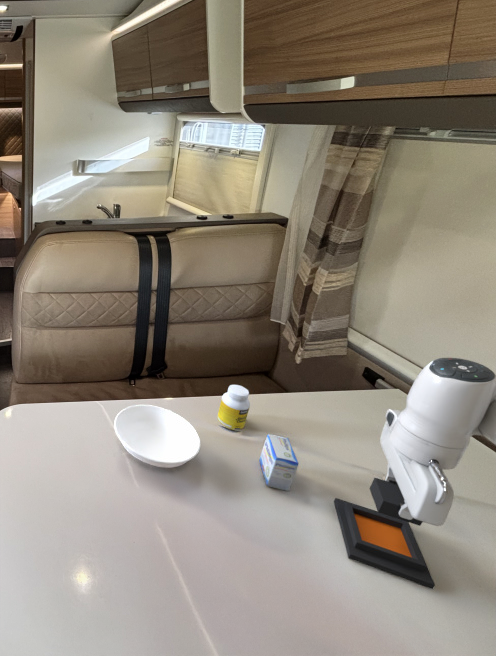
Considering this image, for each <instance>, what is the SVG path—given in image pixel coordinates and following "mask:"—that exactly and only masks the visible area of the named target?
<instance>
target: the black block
mask: <svg viewBox="0 0 496 656" xmlns="http://www.w3.org/2000/svg"><path fill="white" fill-rule="evenodd" d="M369 491H370V494H371V497H372V500H373V502H374V505H375V508H376V511H378V512H379V513H382V514H385V515H388V516H391V517H394V518H397V519H400V520H403V521H406V522H409V524H413V525H415V526H419V527H420V526H422V524H423V522H422V521H419V520H416V519H414V518H413V519H412V520H408V519H405V518H402V517H400V516H399V513H398V510H397V508H398V506H399V503H400V504H405V502H404V497H403V495H402V493H401V491H400V488H399V486H398V484H395V483H391V482H388V481H385V479H381V478H377V477H373V480H372V482H371V484H370V486H369Z"/></svg>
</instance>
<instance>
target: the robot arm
mask: <svg viewBox="0 0 496 656" xmlns="http://www.w3.org/2000/svg"><path fill="white" fill-rule="evenodd" d="M385 419H386V420H385V422H384V425H383V427H382V430H381V433H380V439H379V441H380V442H379V443H380V447H381V449H382V452H383V454H384V456H385V458H386V460H387V468H386V469H387V470H386V471H387V472H386V476H385V478H384V480H385V481H388V482H391V483H395V484H398V486H399V488H400V491H401V493H402V495H403V497H404V502H405V504H400V503H399V506H398V508H397V510H398V513H399V516H400V517H402V518H405V519H408V520H412V519H413V518H414V519H416V520H419V521H422V523H425V524H429V525H432V526H436V527H440V526H443V525H444V524H445V522H446V520H447V518H448V516H449V513H450V511H451V508H452V506H453V502H454V498H455V491H454V489H453V486H452V484H451V482H450V481H449V478H448V477H447V475H446V474H445V472H444V470H445V471H446V470H448V471H449V470H454V469H455V468H457V467H458V465H459V463H460V461H462V460H461V459H462V458H463V456H464V454H465V453H466V451H467V448H468V447H469V445H470V442H471V438H472V437H473V436H482V437H485V438H486V439H487V440H488V441H490V442H491V443H492V444H493V445H494V446H496V373H495V372H494V371H493V370H492V369H491V368H489V367H488V366H486V365H484V364H481V363H479V362H477V361H473V360H469V359H465V358H458V357H439V358H435V359H433V360H432V361H430V362H429V363H427V364H426V365H425V366H424V367H423V368H422V369H421V371H420V372H419V373H418V375H416V378H415V379H414V381H413V383H412V385H411V387H410V389H409V391H408V393H407V395H406V405H405V408H404V409H403V410H397V409H393V408H388V409H387V411H386V413H385Z"/></svg>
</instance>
